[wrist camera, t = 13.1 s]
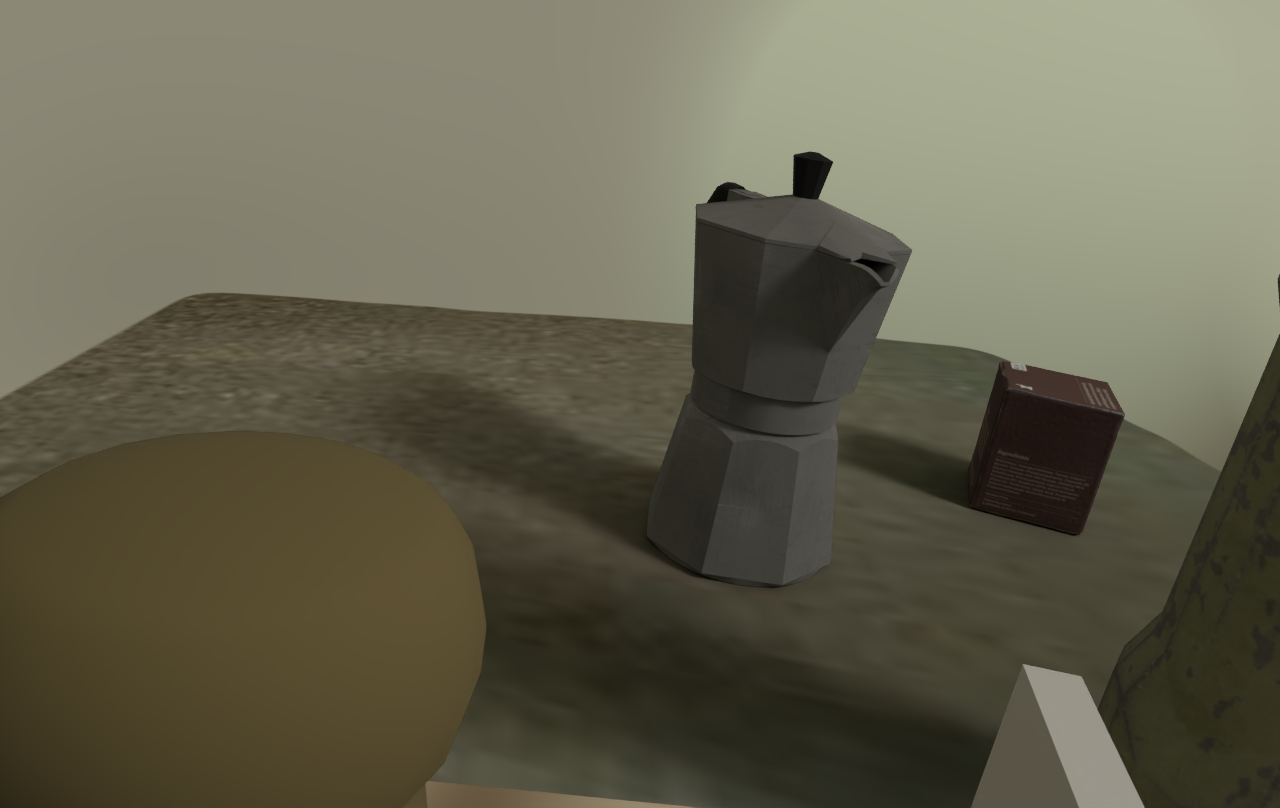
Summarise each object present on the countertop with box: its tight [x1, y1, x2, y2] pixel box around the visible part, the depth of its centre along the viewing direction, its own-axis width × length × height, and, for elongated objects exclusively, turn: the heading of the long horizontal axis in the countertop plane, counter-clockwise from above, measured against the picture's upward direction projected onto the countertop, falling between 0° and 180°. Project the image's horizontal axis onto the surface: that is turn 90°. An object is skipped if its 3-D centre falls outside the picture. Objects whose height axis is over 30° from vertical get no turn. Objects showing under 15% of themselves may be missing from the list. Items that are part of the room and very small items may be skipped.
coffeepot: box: [646, 152, 912, 587], centre depth 40 cm, size 15×9×18 cm, turn 20°
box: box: [968, 362, 1125, 535], centre depth 50 cm, size 6×6×7 cm
